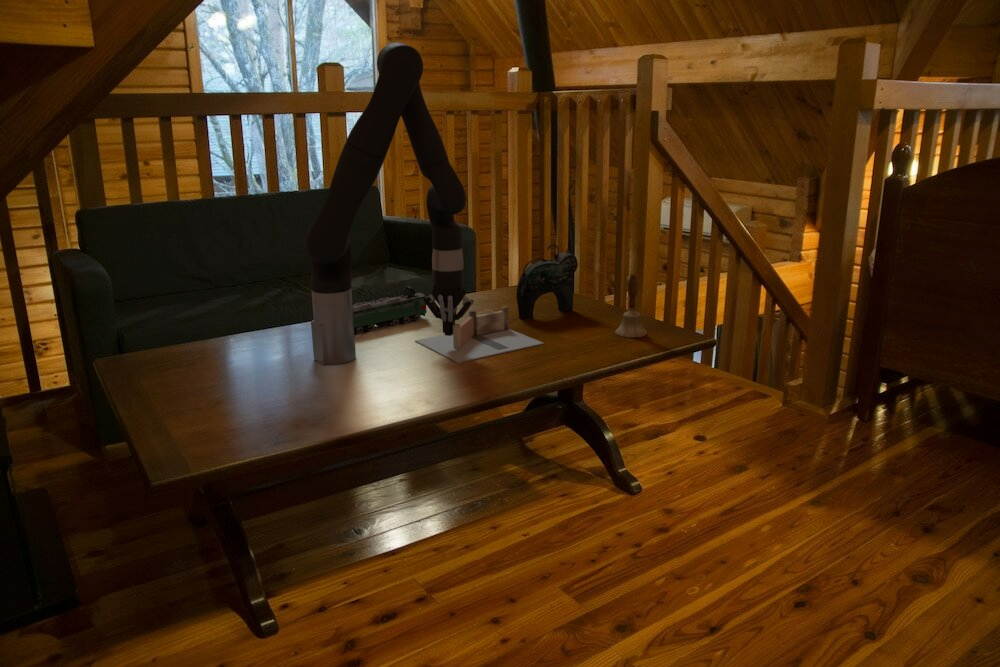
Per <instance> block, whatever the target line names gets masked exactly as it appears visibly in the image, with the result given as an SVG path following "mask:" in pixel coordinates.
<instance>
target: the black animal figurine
mask: <svg viewBox="0 0 1000 667" xmlns="http://www.w3.org/2000/svg"><path fill="white" fill-rule="evenodd" d="M551 247H556V249H557V252H552V254H553V255H554V257H553V258H552V259H544V258H541V257H540V258H539V257H536V258H533V259H531V260H530V261H529V260H528V262H526V264H525V265H524V267H523V271H522V273H521V275H520V276H519V277H520V278H519V280H518V283H517V286H516V298H515V299H516V303H517V310H518V318H519V319H522V320H524V321H525V320H531V319H533V318H534V309H535V305H536V303H537V300H538V299H539V298H541V297H542V296H543V295H545V294H549V293H553V294H554V296H555V298H556V303H557V310H559V311H560V312H562V313H564V312H565V313H566V312H570V311H573V308H574V278H573V277H574V275H575V272H576V271H577V270H578V259H577V256H576V255H574V254H572V253H571V251H570V249H569V248H568V247H567V249H566V250H565V252H559V251H560V250H559V247H558V245H556V244H554V243H552V244H550V245H548V246H547V250H548V251H549V250H550V249H551ZM537 260H540V261H538V262H535V263H533V262H534V261H537ZM530 263H532V264H530ZM529 264H530V265H529Z"/></svg>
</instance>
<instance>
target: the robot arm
mask: <svg viewBox="0 0 1000 667" xmlns="http://www.w3.org/2000/svg"><path fill="white" fill-rule="evenodd" d="M376 68H377V72H378V77H377V81H376V84H375V87H374V90H373V92H372V95H371V97H370V100H369V102H368V104H367V105H366V107H365V109H364V110H363V112H362V113H361V115H360V116H359V118H358V119H357V120H356V122H355V124H354V125H353V127H352V128H351V129H350V132H349V134H348V136H347V138H346V141H345V143H344V145H343V148H342V150H341V153H340V156H339V158H338V161H337V164H336V166H335V170H334V172H333V175H332V178H331V182H330V185H329V189H328V193H327V195H326V199H325V200H324V203H323V204H322V206H321V209H320V211H319V213H318V215H317V217H316V219H315V220H314V221H313V224H312V225H311V227H310V229H309V230H308V232H307V234H306V237H305V248H306V251H307V253H308V256H310V258H311V275H310V287H311V289H310V290H311V300H312V314H313V315H312V316H313V319H312V320H311V321H310V326H311V327H310V329H311V339H312V352H313V354H312V355H313V359H314V360H315V361H317V362H318V363H319V364H321V365H323V366H325V365H340V364H344V363H349V362H352V361H354V360H355V359H356V358H357V353H356V351H357V350H356V349H357V348H356V337H355V333H354V320H353V305H354V304H353V294H352V293H353V292H352V273H353V272H352V271H353V270H352V250H351V237H350V233H351V230H352V227H353V223H354V221H355V218H356V215H357V214H358V211H359V209H360V208H361V206H362V204H363V202H364V201H365V199H366V198H367V196H368V195H369V193H370V191H371V189H372V188H373V185H374V184H375V182H376V180H377V178H378V176H379V173H380V172H381V169H382V167H383V164H384V161H385V159H386V157H387V155H388V152H389V149H390V146H391V144H392V141H393V138H394V136H395V134H396V131H397V127H398V124H399V122H400V118H401V119H402V122H403V125H404V127H405V130H406V134H407V136H408V140H409V142H410V145H411V147H412V151H413V154H414V156H415V159H416V162H417V164H418V167H419V170H420V172H421V174H422V176H423V177H424V178H425V179H427V180H428V181H430V183H431V186H430V187H429V188H428V190H427V193H426V198H425V199H426V202H425V204H426V209H427V214H428V215H427V216H428V219H429V224H430V227H431V231H432V254H431V264H432V265H431V270H432V275H431V276H432V289H431V294H429V295H427V296H426V298H424V302H425V304H426V307H427V308H428V309H429V310H430V312H431V313H432V314H433V316H434V317H435V318H436V319H440V320H441V322H442V332H443V334H444V335H445V336H452V335H453V324H456V321H459V320H460V319H461V318H463V317H464V315H465V314H466V313H467V311H468V310H469V309H470V308H471V307H472V305H473V304H474V303H475V301H474V300H473V299H472V298H471V299H470V298H469V297H468V296H466V291H465V289H464V284H465V283H464V265H465V263H464V255H463V254H464V253H463V245H462V244H463V236H462V235H463V233H462V228H461V226H460V225H459V224H458V223H457V222H456V220H455V215H459V214H460V213H461V212H463V210H464V209H465V207H466V203H467V195H466V191H465V190H466V189H464V186H463V183H462V181H461V180H460V178H459V177H458V175H457V173H456V171H455V170H454V168H453V166H452V165H451V163H450V161H449V160H450V159H449V156H448V154H447V151H446V148H445V144H444V142H443V139H442V137H441V134H440V132H439V130H438V128H437V126H436V125H437V124H435V121H434V120H433V117H432V115H431V113H430V111H429V109H428V106H427V104H426V101H425V99H424V96H423V92H422V89H421V85H420V84H421V83H420V80H421V79H422V77H423V76H422V75H423V74H424V73H423V72H424V62H423V58H422V56H421V54H420V53H419V51H418V50H417V49H416V48H415V47H414V46H411V45H409V44H405V43H404V42H403V43H402V42H392V43H388V44H386V45H385V46H383V48H382V49H381V50H380V51H379V53H378V56H377V60H376ZM460 304H461V305H462V307H461V308H460V309H459V310H458V306H459V305H460ZM457 310H458V311H457Z"/></svg>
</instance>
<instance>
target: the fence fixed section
mask: <svg viewBox="0 0 1000 667" xmlns="http://www.w3.org/2000/svg"><path fill="white" fill-rule="evenodd" d="M509 308H510V307H509V306H507V305H504V306H501V310H499V311H494V312H492V311H491V312H488V313H482V314H477V311H476V310H469V311H468V315H469V316H472V317H473V324H474V335H473V336H476V335H480V334H485V333H489V332H494V331H499V330H504V329H510V328H509V323H510V321H509V320H510V317H509V314H510V313H509V310H510V309H509ZM469 316H468V317H469Z"/></svg>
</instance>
